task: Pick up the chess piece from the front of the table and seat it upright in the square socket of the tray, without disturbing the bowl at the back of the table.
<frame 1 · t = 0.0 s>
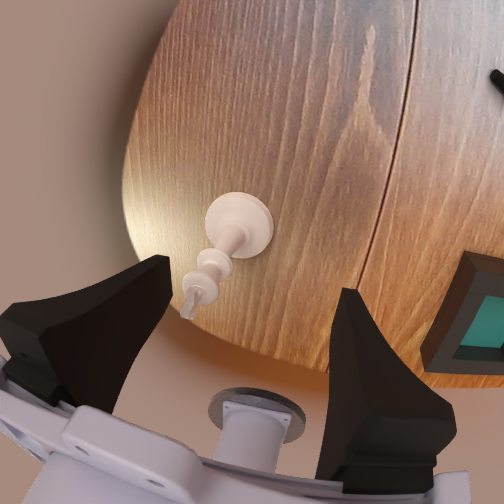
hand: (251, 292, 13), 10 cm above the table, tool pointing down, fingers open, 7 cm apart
tray: (487, 311, 21), on the table
chess piece: (240, 223, 23), on the table
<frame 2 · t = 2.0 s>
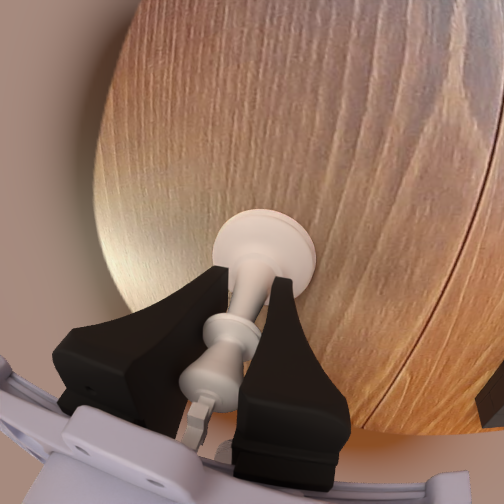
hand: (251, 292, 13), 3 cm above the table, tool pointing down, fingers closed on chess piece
chess piece: (265, 254, 16), on the table, touching gripper
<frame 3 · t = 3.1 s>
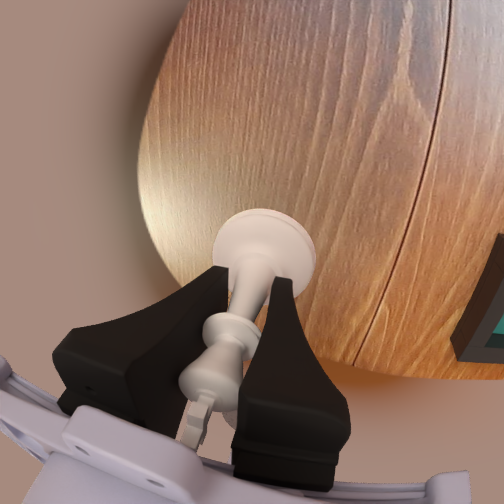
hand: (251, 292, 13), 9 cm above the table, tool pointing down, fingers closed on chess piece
chess piece: (264, 254, 16), point 6 cm above the table, touching gripper
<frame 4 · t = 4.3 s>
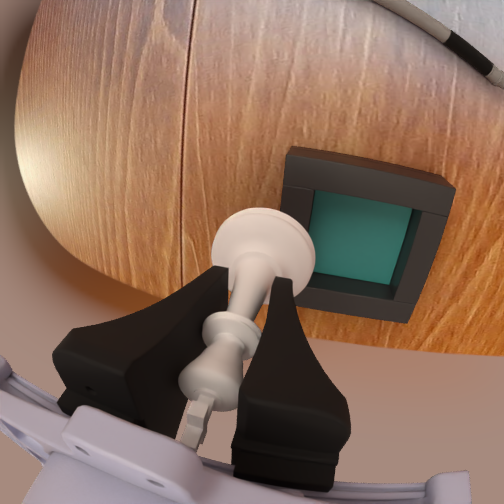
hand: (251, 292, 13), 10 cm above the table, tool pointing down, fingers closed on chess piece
tray: (355, 230, 21), on the table
chess piece: (264, 253, 16), point 7 cm above the table, touching gripper
pen: (406, 15, 13), on the table
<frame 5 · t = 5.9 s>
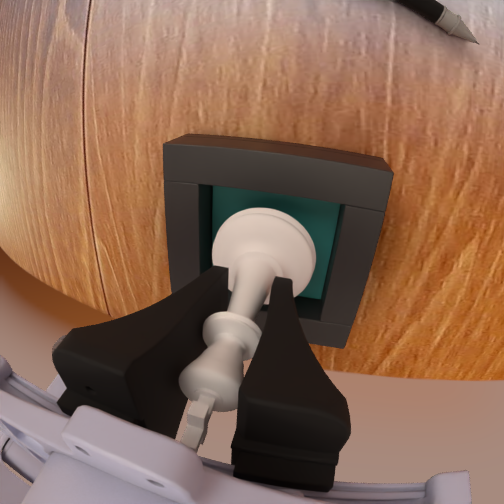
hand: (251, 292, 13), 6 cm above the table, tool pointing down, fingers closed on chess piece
tray: (273, 232, 18), on the table
chess piece: (264, 253, 16), point 2 cm above the table, touching gripper
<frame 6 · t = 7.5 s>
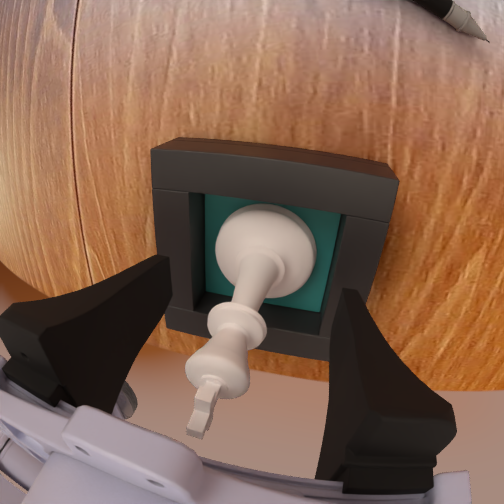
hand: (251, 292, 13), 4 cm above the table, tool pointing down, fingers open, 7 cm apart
tray: (270, 242, 17), on the table
chess piece: (266, 248, 16), point 1 cm above the table, touching tray
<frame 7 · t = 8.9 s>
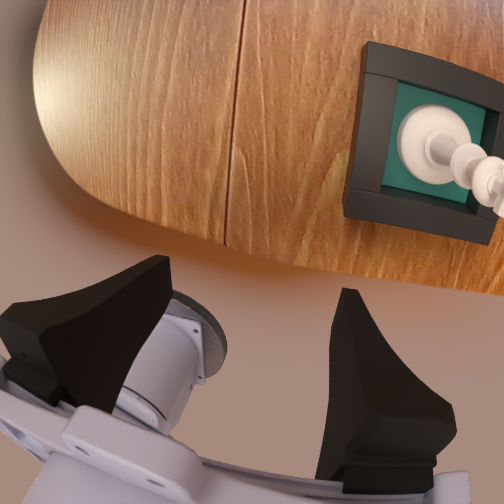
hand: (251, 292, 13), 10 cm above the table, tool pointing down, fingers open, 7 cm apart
tray: (429, 141, 17), on the table
chess piece: (433, 143, 16), point 1 cm above the table, touching tray
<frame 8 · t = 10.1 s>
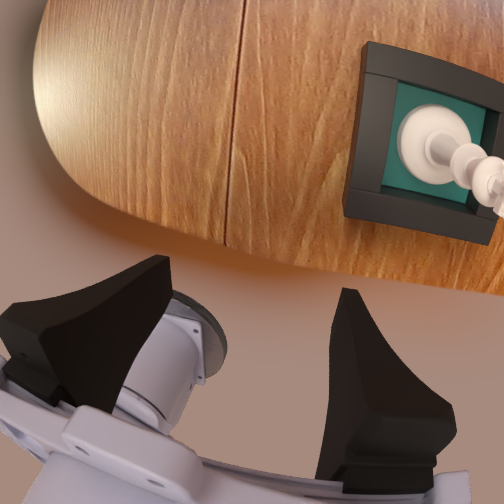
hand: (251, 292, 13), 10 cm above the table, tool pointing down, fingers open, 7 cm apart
tray: (429, 141, 17), on the table
chess piece: (433, 143, 16), point 1 cm above the table, touching tray
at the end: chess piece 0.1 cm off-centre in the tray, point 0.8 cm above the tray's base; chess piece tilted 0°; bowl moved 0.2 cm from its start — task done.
